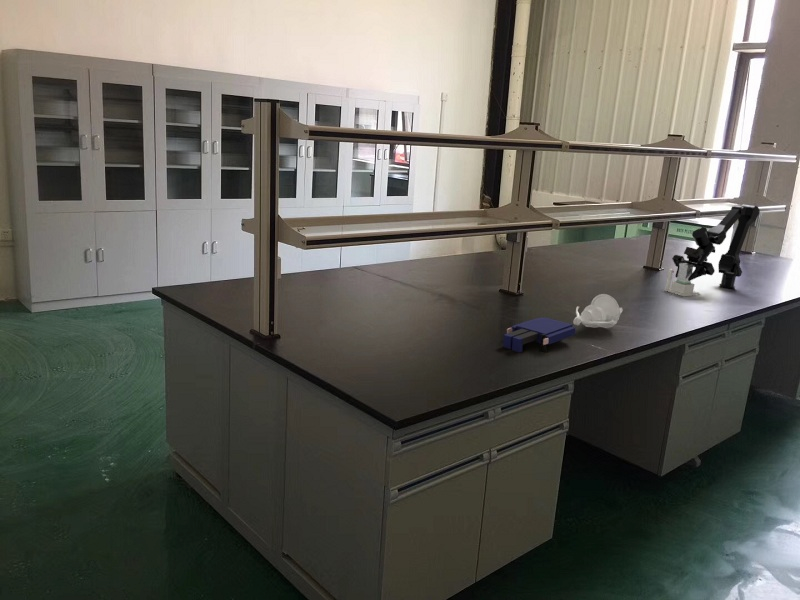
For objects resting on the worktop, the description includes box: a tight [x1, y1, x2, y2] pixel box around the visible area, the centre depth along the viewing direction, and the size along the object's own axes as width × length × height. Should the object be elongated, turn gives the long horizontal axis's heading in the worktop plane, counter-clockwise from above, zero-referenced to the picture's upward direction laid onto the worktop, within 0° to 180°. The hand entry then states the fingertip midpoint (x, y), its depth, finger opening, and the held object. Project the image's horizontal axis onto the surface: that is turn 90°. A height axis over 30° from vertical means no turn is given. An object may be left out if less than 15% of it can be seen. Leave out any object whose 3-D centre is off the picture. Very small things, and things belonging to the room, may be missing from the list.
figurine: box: [572, 293, 624, 329], centre depth 229 cm, size 17×12×25 cm
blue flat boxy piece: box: [502, 316, 576, 354], centre depth 212 cm, size 15×6×25 cm
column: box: [675, 263, 695, 285], centre depth 293 cm, size 4×4×13 cm
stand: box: [663, 268, 700, 297], centre depth 293 cm, size 10×11×10 cm
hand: (682, 278), depth 292 cm, fingers open, 6 cm apart
